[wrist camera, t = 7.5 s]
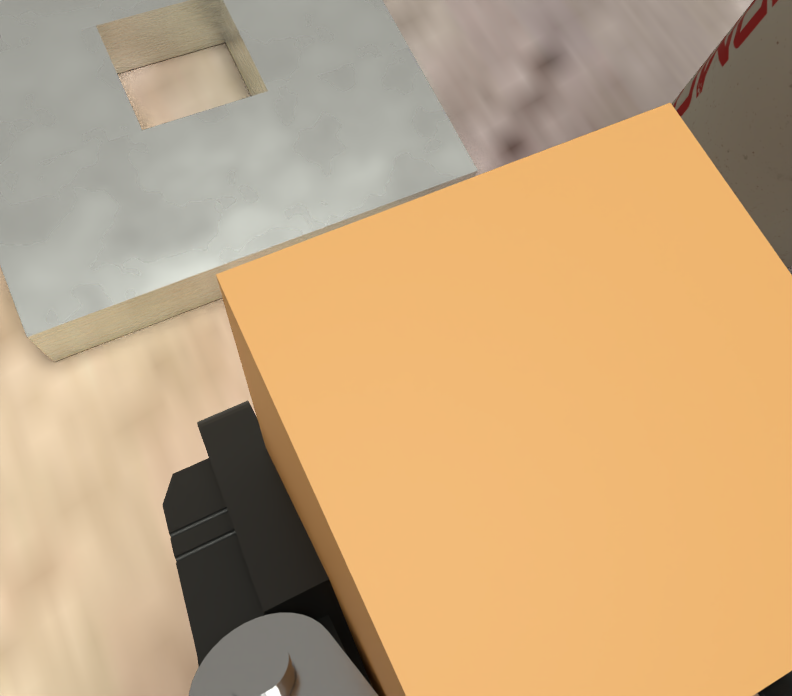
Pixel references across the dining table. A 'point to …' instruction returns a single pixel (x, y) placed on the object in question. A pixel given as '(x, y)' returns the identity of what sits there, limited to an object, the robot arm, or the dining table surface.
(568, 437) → the square peg
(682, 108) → the thermos bottle
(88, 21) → the collar plate
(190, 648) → the dining table surface
